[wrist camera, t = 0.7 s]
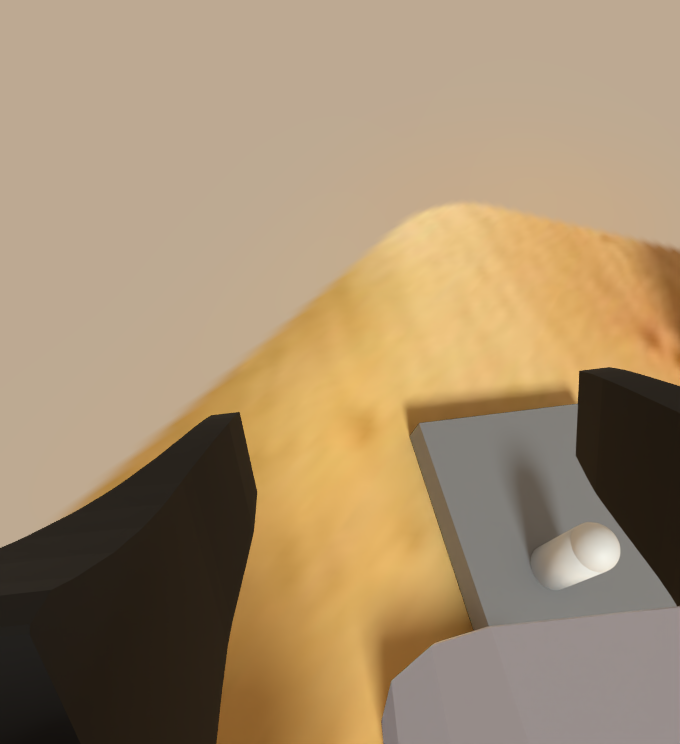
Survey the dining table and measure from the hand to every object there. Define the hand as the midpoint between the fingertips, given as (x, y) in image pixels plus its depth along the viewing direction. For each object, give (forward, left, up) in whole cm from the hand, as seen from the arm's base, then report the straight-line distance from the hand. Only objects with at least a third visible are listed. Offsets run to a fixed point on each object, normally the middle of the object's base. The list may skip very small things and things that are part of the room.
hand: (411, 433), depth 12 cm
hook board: (0, -13, -15) cm, 20 cm away
